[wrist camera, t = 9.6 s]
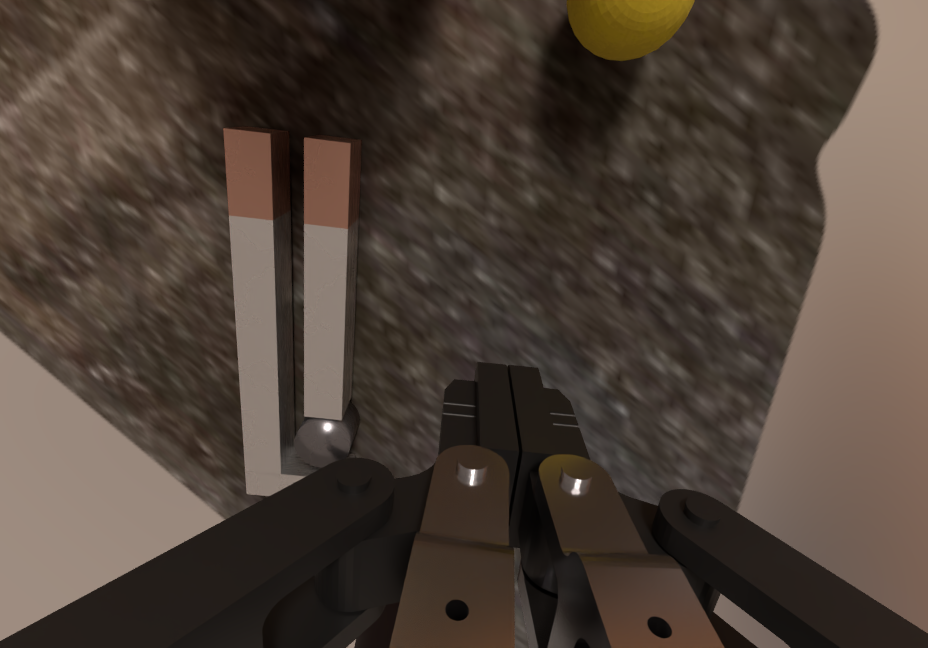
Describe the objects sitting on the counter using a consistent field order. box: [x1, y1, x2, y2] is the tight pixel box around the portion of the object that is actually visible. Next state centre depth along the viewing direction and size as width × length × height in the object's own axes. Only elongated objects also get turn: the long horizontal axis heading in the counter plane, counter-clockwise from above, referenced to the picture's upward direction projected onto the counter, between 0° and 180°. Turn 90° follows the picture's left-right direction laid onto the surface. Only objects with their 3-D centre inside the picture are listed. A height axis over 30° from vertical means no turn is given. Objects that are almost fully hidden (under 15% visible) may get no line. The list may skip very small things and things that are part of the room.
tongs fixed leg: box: [223, 126, 355, 496], centre depth 33 cm, size 24×7×3 cm, turn 174°
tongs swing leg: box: [294, 135, 362, 468], centre depth 32 cm, size 21×4×3 cm, turn 173°
